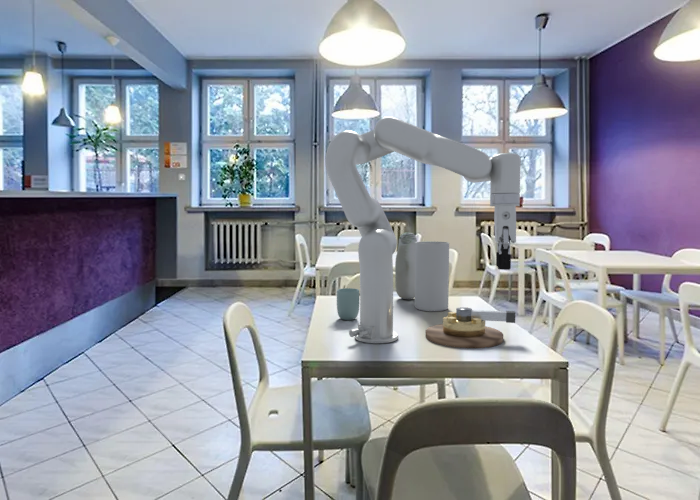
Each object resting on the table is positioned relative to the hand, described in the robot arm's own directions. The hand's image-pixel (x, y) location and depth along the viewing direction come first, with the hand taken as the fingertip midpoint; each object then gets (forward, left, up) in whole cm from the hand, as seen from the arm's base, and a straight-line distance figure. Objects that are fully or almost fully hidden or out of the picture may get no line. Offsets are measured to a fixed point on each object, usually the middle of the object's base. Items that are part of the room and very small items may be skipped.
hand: (503, 267), depth 127 cm
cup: (-6, +53, -22) cm, 57 cm away
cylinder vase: (+28, +42, -22) cm, 55 cm away
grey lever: (+2, +8, -20) cm, 21 cm away
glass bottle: (+37, +60, -22) cm, 74 cm away
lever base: (0, +12, -22) cm, 24 cm away
